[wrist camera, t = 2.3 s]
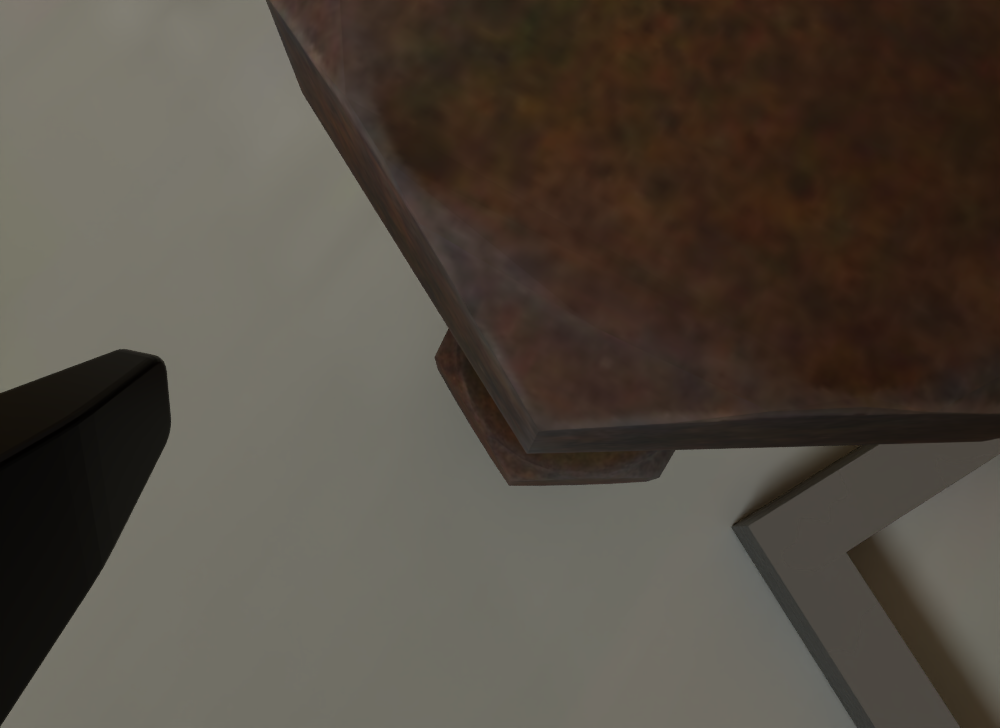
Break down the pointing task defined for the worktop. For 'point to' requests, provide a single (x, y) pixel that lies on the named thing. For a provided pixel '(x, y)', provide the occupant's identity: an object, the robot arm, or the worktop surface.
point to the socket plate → (856, 572)
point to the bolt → (682, 215)
